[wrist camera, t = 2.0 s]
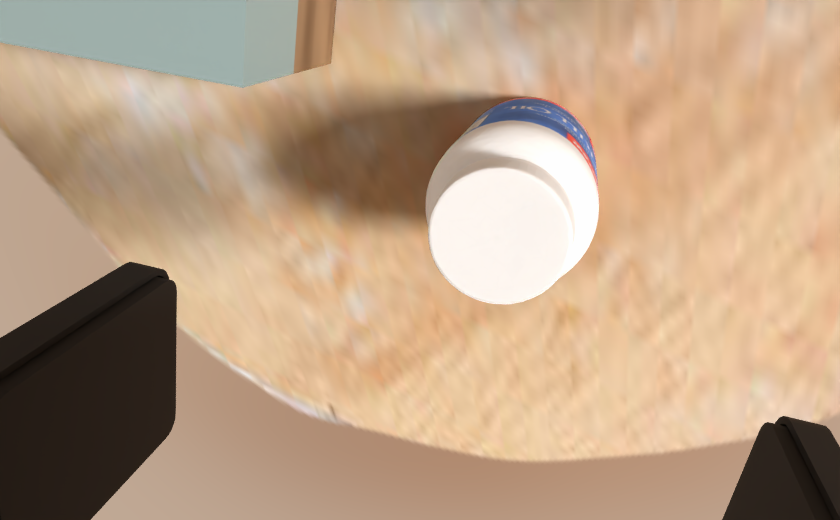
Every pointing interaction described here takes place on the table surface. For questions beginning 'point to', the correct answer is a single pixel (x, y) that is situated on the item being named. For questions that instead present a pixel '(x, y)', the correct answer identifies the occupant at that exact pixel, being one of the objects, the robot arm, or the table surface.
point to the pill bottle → (513, 201)
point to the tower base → (314, 34)
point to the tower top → (163, 35)
